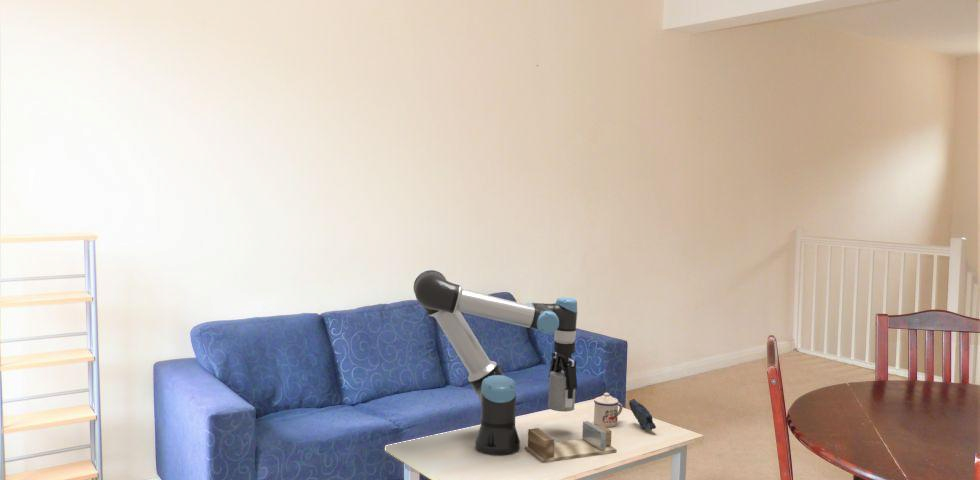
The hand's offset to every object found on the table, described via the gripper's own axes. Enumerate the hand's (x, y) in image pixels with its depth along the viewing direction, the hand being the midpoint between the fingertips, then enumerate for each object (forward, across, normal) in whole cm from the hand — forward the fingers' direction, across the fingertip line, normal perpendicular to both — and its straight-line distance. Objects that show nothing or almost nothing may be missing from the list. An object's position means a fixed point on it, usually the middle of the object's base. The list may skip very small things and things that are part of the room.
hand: (561, 402), depth 278 cm
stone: (+10, -6, -31) cm, 33 cm away
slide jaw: (+10, -17, -6) cm, 20 cm away
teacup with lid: (+11, +4, -23) cm, 26 cm away
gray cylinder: (+2, 0, 0) cm, 2 cm away
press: (+11, -17, +5) cm, 21 cm away
